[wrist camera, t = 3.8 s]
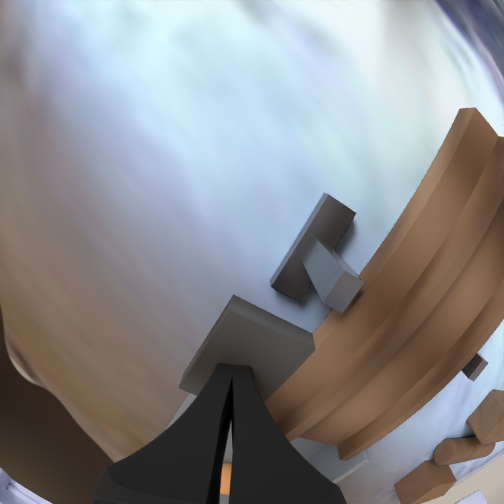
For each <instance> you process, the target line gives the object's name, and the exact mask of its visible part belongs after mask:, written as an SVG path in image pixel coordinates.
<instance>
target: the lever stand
mask: <svg viewBox="0 0 504 504" xmlns="http://www.w3.org/2000/svg"><path fill="white" fill-rule="evenodd" d="M355 214H356V213H355V212H354V211H352V210H351V209H350V208H348V207H347V206H345V205H344V204H342V203H341V202H339V201H338V200H336V199H335V198H333V197H331V196H330V195H328V194H325V193H324V194H323V196H322V197H321V199H320V201H319V202H318V204H317V206H316V207H315V209H314V211H313V212H312V214H311V216H310V217H309V219H308V220H307V222H306V224H305V225H304V227H303V229H302V230H301V232H300V234H299V235H298V237H297V238H296V240H295V242H294V243H293V245H292V246H291V248H290V250H289V251H288V253H287V255H286V256H285V258H284V259H283V261H282V263H281V264H280V266H279V267H278V269H277V270H276V272H275V274H274V275H273V277H272V278H271V280H270V283H271V287H272V288H274V289H276V290H278V291H280V292H282V293H284V294H286V295H287V296H289V297H291V298H293V299H295V300H297V301H300V300H301V298H302V297H303V295H304V294H305V292H306V291H307V290H308V288H309V287H310V285H311V284H312V283H313V285H314V287H315V289H316V291H317V293H318V295H319V297H320V299H321V301H322V303H324V304H325V305H327V306H329V307H331V308H333V309H335V310H337V311H339V312H341V313H343V312H344V310H345V309H346V308H347V306H348V305H349V304H350V302H351V301H352V299H353V298H354V297H355V295H356V294H357V292H358V291H359V289H360V288H361V286H362V285H363V284H364V281H363V280H362V279H361V278H360V277H359V276H358V275H357V274H356V273H355V272H354V271H353V269H352V268H351V267H350V266H349V265H348V264H347V263H346V262H345V261H344V260H343V259H342V258H341V257H340V256H339V255H338V254H337V253H336V251H335V250H334V248H335V247H336V245H337V244H338V242H339V241H340V239H341V237H342V236H343V234H344V233H345V231H346V229H347V228H348V226H349V224H350V223H351V221H352V219H353V218H354V216H355ZM487 364H488V362H487V361H486V360H485V359H484V358H483V357H482V356H481V355H480V354H479V353H478V352H477V353H476V354H475V356H474V357H473V358H472V359H471V360H470V361H469V362H468V363H467V364H466V366H465V367H464V368H463V369H462V371H463V373H464V374H465V375H466V376H467V377H468V378H469V379H471V380H473V381H475V379H476V378H477V377H478V376H479V374H480V373H481V372H482V371H483V369H484V368H485V367H486V366H487Z"/></svg>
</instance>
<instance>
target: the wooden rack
mask: <svg viewBox="0 0 504 504" xmlns="http://www.w3.org/2000/svg"><path fill="white" fill-rule="evenodd" d="M359 277H360V278H361V279H362V280H363V281H364V284H363V285H362V286H361V288H360V289H359V291H358V292H357V294H356V295H355V297H354V298H353V299H352V301H351V302H350V304H349V305H348V306H347V308H346V309H345V310H344V312H343V313H341V312H339V311H337V310H335V309H333V310H332V311H331V312H330V313H329V315H328V316H327V317H326V318H325V319H324V321H323V322H322V323H321V324H320V325H319V327H318V328H317V329H316V330H315V331H314V333H313V334H312V333H310V332H308V331H306V330H304V329H302V328H300V327H297V326H295V325H293V324H291V323H289V322H287V321H285V320H283V319H281V318H279V317H277V316H275V315H273V314H271V313H269V312H267V311H265V310H263V309H261V308H259V307H257V306H255V305H253V304H251V303H249V302H247V301H245V300H243V299H241V298H239V297H237V296H236V295H234V294H233V296H232V298H231V299H230V301H229V302H228V304H227V306H226V307H225V309H224V310H223V312H222V313H221V315H220V317H219V318H218V320H217V321H216V323H215V325H214V326H213V328H212V329H211V331H210V332H209V334H208V336H207V337H206V339H205V340H204V342H203V343H202V345H201V347H200V348H199V350H198V351H197V353H196V354H195V356H194V358H193V359H192V361H191V362H190V364H189V365H188V367H187V368H186V370H185V372H184V374H183V377H182V380H181V382H180V385H179V388H180V389H182V390H185V391H187V392H189V393H191V394H193V395H196V396H198V394H199V393H200V391H201V390H202V388H203V387H204V385H205V384H206V382H207V381H208V379H209V377H210V376H211V374H212V372H213V370H214V368H215V365H216V364H218V363H224V364H235V365H249V366H250V367H252V371H253V376H254V379H255V382H256V385H257V388H258V390H259V392H260V395H261V397H262V399H263V401H264V403H265V405H266V407H267V409H268V411H269V412H270V414H271V416H272V418H273V419H274V421H275V422H276V424H277V426H278V427H279V428H280V430H281V431H282V433H283V434H284V435H285V437H286V438H287V439H288V440H289V442H291V441H293V440H294V439H296V438H297V437H299V438H303V439H307V440H312V441H316V442H320V443H325V444H330V445H335V446H337V448H338V455H339V460H343V461H348V460H350V459H351V458H353V457H355V456H356V455H358V454H359V453H361V452H363V451H364V450H366V449H367V448H369V447H370V446H372V445H373V444H375V443H376V442H378V441H379V440H380V439H382V438H383V437H385V436H386V435H387V434H389V433H390V432H392V431H393V430H394V429H396V428H397V427H398V426H400V425H401V424H402V423H403V422H405V421H406V420H407V419H409V418H410V417H411V416H412V415H413V414H415V413H416V412H417V411H418V410H419V409H421V408H422V407H423V406H424V405H425V404H426V403H428V402H429V401H430V400H431V399H432V398H433V397H434V396H435V395H436V394H438V393H439V392H440V391H441V390H442V389H443V388H444V387H445V386H446V385H447V384H448V383H449V382H450V381H451V380H452V379H453V378H454V377H455V376H456V375H457V374H458V373H459V372H460V371H461V370H462V369H463V368H464V367H465V366H466V364H467V363H468V362H469V361H470V360H471V359H472V358H473V357H474V356H475V354H476V353H477V352H478V351H479V350H480V349H481V347H482V346H483V345H484V344H485V343H486V341H487V340H488V339H489V338H490V336H491V335H492V334H493V333H494V331H495V330H496V329H497V327H498V326H499V325H500V323H501V322H502V321H503V319H504V137H500V136H498V135H497V134H496V132H495V131H494V130H493V128H492V127H491V126H490V124H489V123H488V122H487V121H486V119H485V118H484V117H483V116H482V115H481V113H480V112H479V111H478V110H477V109H476V108H463V109H459V111H458V114H457V116H456V118H455V120H454V122H453V124H452V126H451V128H450V130H449V132H448V134H447V136H446V138H445V140H444V142H443V144H442V146H441V148H440V149H439V151H438V153H437V155H436V157H435V159H434V160H433V162H432V164H431V166H430V168H429V169H428V171H427V173H426V175H425V176H424V178H423V180H422V182H421V183H420V185H419V187H418V188H417V190H416V192H415V193H414V195H413V197H412V198H411V200H410V201H409V203H408V205H407V206H406V208H405V209H404V211H403V213H402V214H401V216H400V217H399V219H398V220H397V222H396V223H395V225H394V226H393V228H392V229H391V231H390V232H389V234H388V235H387V237H386V238H385V240H384V241H383V243H382V244H381V246H380V247H379V248H378V250H377V251H376V253H375V254H374V256H373V257H372V258H371V260H370V261H369V263H368V264H367V265H366V267H365V268H364V269H363V271H362V272H361V273H360V275H359Z"/></svg>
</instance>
